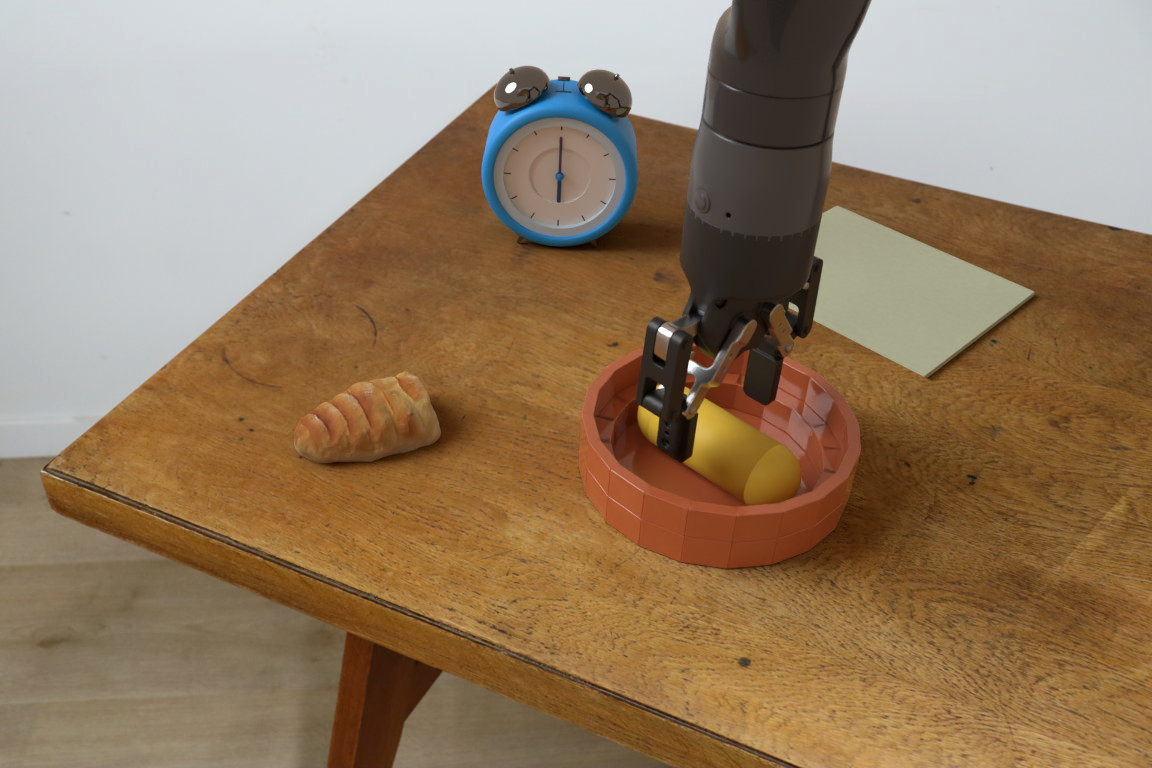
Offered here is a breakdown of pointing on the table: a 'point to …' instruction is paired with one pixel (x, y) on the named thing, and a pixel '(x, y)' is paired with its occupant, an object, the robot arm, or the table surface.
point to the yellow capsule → (736, 456)
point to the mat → (904, 293)
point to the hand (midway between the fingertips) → (718, 425)
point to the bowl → (695, 504)
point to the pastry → (369, 422)
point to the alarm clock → (560, 156)
